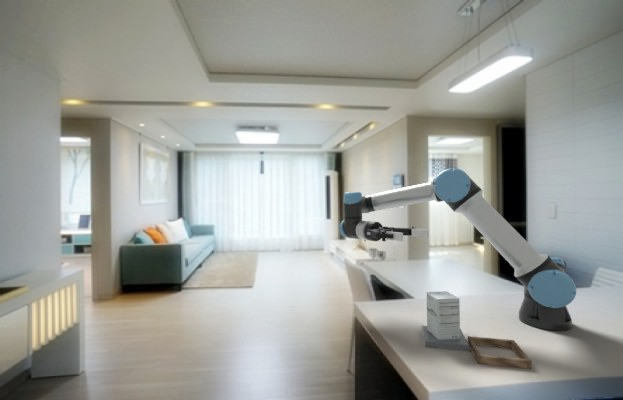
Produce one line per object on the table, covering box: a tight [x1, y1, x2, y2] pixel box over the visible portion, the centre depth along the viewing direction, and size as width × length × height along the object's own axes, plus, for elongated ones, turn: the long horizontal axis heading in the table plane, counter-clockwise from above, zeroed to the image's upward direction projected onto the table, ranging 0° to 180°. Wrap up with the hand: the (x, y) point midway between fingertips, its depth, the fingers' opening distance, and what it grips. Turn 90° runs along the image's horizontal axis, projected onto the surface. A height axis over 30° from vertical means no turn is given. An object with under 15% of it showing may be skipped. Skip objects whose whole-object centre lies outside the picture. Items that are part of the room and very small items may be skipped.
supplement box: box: [426, 290, 461, 340], centre depth 99 cm, size 7×7×13 cm
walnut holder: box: [467, 336, 532, 370], centre depth 89 cm, size 12×12×2 cm
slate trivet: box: [421, 325, 470, 351], centre depth 99 cm, size 12×12×2 cm
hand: (415, 235), depth 107 cm, fingers open, 13 cm apart
